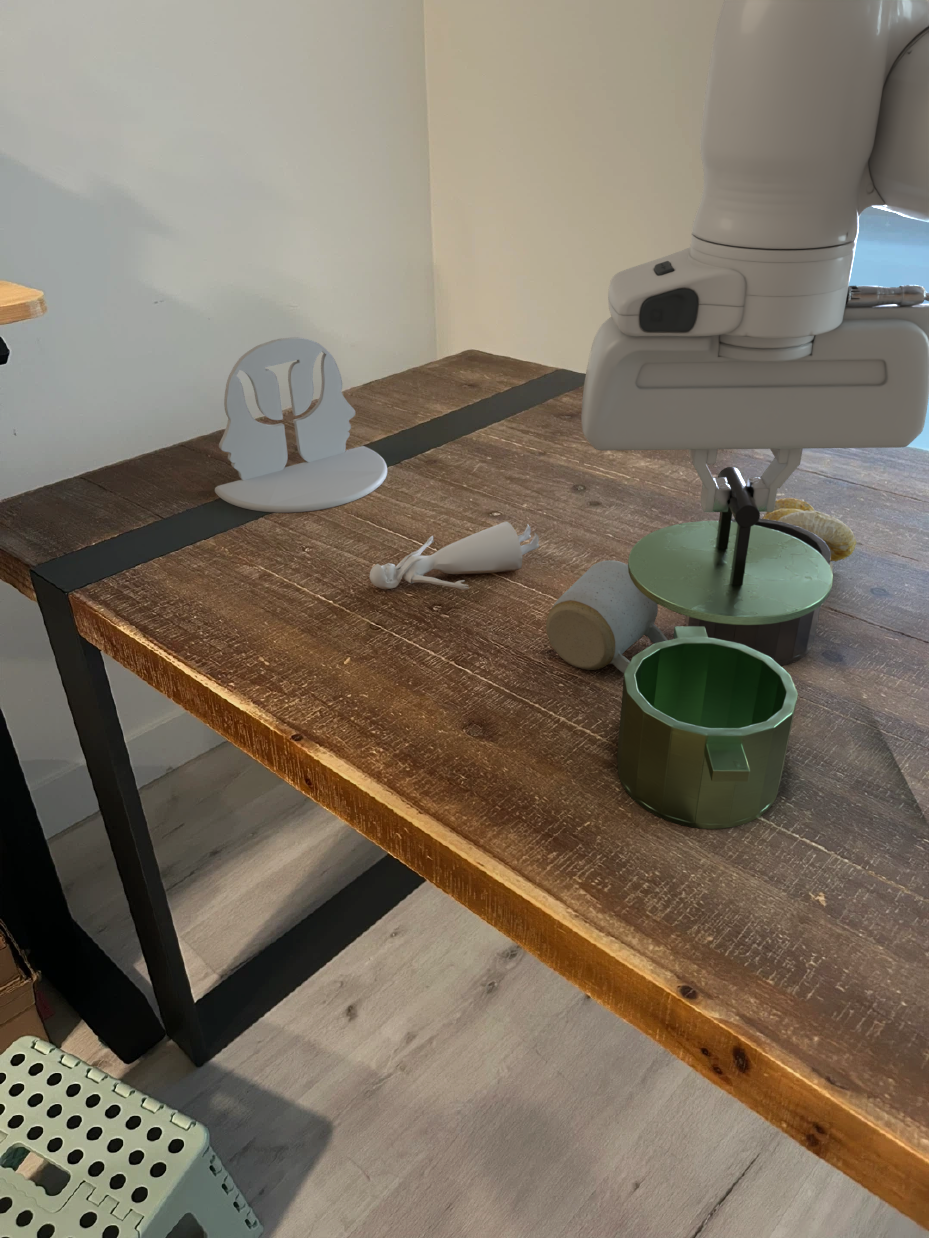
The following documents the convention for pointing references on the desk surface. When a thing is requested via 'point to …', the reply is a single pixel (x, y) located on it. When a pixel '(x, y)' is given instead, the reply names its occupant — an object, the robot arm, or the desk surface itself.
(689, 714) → the pot
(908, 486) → the desk surface
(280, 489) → the ornament
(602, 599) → the ceramic mug
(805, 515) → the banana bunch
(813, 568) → the pot lid
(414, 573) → the woman figurine
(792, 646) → the black cup
